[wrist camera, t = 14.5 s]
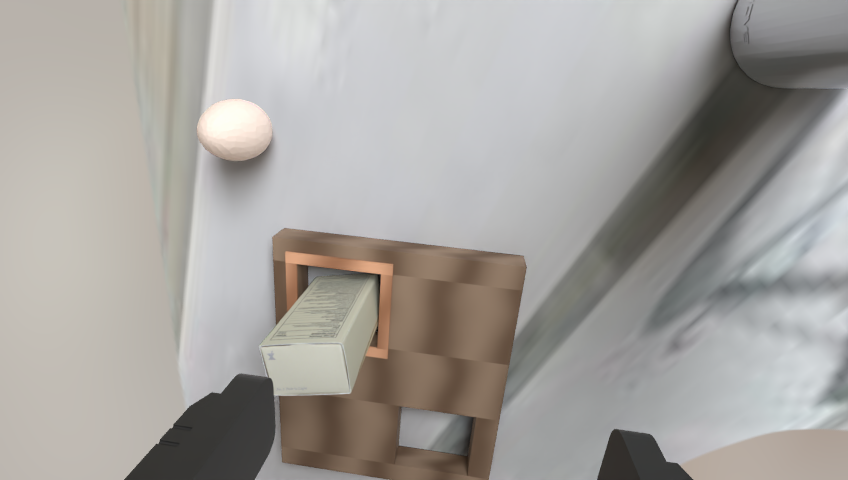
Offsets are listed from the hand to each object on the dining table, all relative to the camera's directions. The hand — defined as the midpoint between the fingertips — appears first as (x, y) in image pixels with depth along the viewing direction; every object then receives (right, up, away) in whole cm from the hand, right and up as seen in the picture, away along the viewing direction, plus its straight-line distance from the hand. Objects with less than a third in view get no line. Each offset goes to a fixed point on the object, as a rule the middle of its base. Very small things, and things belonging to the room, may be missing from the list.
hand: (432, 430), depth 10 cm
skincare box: (-7, -1, +31) cm, 32 cm away
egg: (-14, +14, +27) cm, 34 cm away
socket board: (-3, -8, +33) cm, 34 cm away
